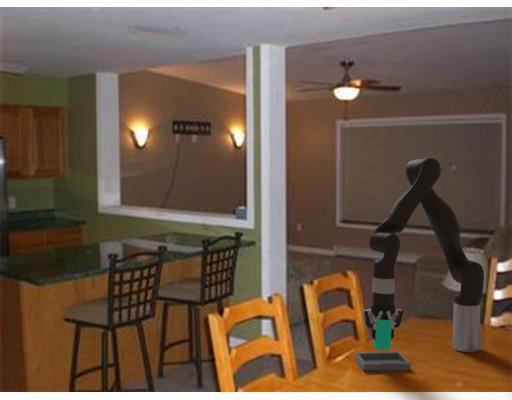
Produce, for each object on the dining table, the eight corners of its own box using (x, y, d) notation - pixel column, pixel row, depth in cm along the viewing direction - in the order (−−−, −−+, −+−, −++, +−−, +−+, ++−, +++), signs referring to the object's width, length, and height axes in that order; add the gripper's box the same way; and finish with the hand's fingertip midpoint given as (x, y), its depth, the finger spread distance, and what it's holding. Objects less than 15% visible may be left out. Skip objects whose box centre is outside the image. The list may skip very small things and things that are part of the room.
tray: (399, 358, 221) (399, 351, 221) (410, 370, 209) (410, 363, 209) (355, 359, 220) (355, 352, 220) (363, 371, 208) (363, 364, 208)
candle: (390, 344, 217) (390, 310, 216) (392, 350, 211) (392, 315, 210) (372, 344, 218) (373, 310, 217) (374, 349, 212) (374, 314, 211)
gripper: (400, 287, 217) (399, 335, 218) (360, 288, 216) (359, 336, 217) (407, 292, 210) (406, 342, 211) (365, 293, 209) (364, 343, 210)
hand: (382, 339), depth 214 cm, fingers closed on candle, 4 cm apart
